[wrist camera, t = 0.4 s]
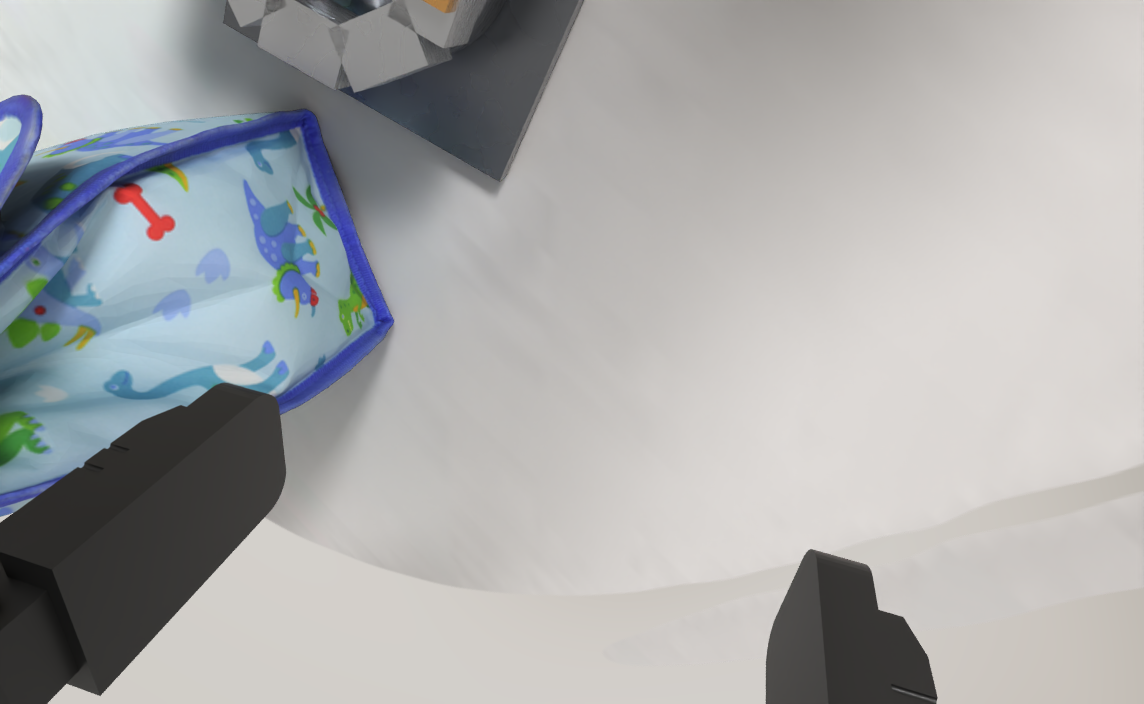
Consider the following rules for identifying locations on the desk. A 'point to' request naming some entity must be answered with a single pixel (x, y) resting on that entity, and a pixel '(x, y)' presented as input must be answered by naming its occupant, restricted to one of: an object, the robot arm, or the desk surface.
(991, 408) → the desk surface
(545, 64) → the chuck base
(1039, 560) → the desk surface
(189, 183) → the lunch bag
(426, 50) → the grey cube ring
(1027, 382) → the desk surface
